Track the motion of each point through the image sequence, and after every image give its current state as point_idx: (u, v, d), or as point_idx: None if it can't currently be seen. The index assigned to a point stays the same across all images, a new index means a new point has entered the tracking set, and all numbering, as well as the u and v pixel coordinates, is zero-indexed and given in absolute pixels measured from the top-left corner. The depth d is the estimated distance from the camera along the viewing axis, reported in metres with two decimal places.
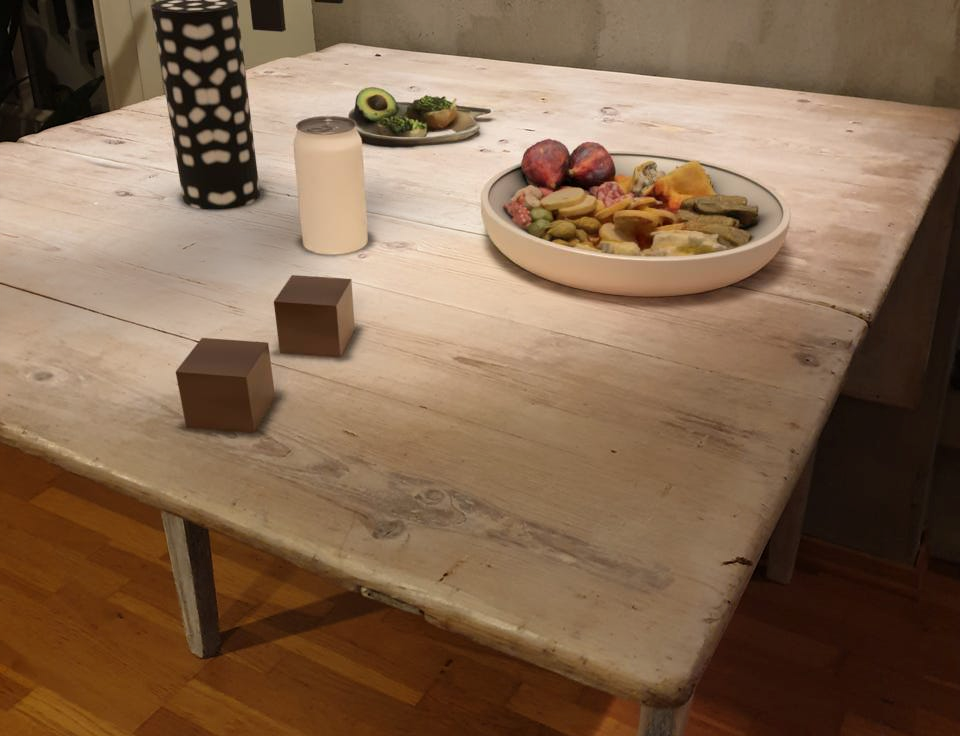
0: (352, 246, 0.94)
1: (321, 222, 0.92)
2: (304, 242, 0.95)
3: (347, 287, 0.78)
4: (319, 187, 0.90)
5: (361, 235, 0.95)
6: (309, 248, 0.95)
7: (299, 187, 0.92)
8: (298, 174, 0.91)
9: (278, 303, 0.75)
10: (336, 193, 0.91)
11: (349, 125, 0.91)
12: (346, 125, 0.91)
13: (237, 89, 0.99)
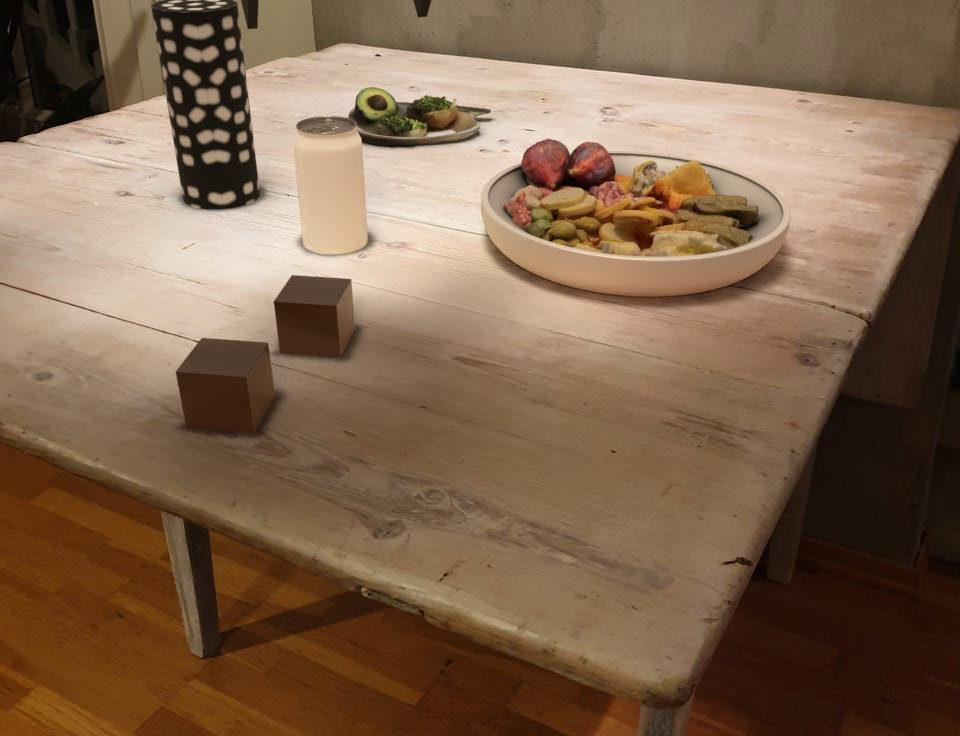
0: (352, 246, 0.94)
1: (321, 222, 0.92)
2: (304, 242, 0.95)
3: (347, 287, 0.78)
4: (319, 188, 0.90)
5: (361, 235, 0.95)
6: (309, 248, 0.95)
7: (299, 187, 0.92)
8: (298, 174, 0.91)
9: (278, 303, 0.75)
10: (336, 193, 0.91)
11: (349, 125, 0.91)
12: (346, 125, 0.91)
13: (237, 89, 0.99)
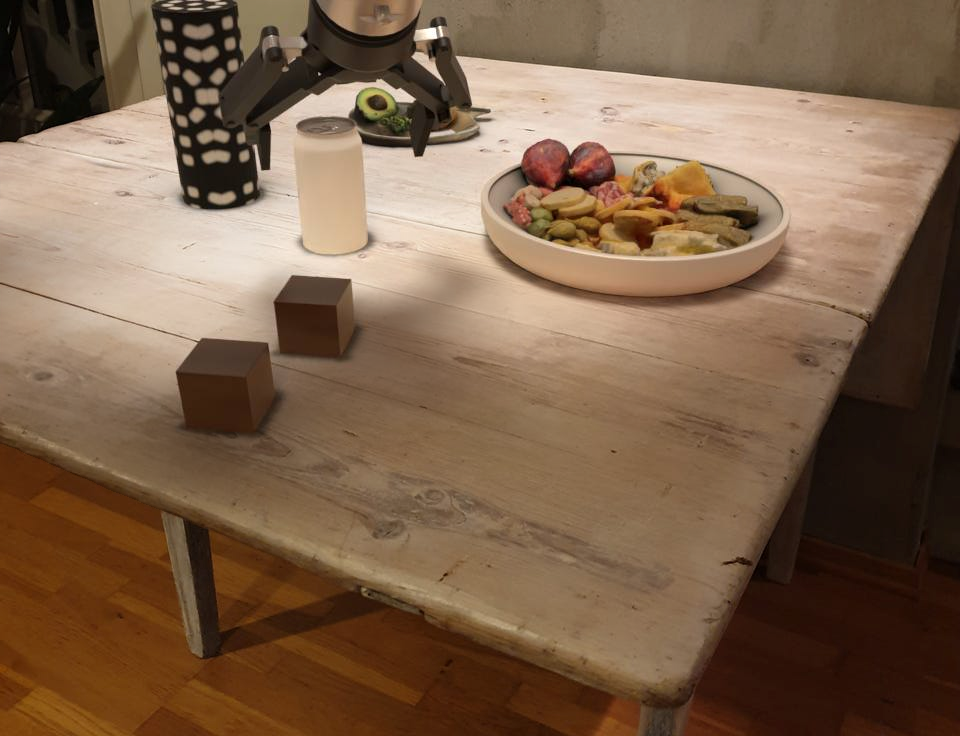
0: (352, 246, 0.94)
1: (321, 222, 0.92)
2: (304, 242, 0.95)
3: (347, 287, 0.78)
4: (319, 188, 0.90)
5: (361, 235, 0.95)
6: (309, 248, 0.95)
7: (299, 187, 0.92)
8: (298, 174, 0.91)
9: (278, 303, 0.75)
10: (336, 193, 0.91)
11: (349, 125, 0.91)
12: (346, 125, 0.91)
13: None
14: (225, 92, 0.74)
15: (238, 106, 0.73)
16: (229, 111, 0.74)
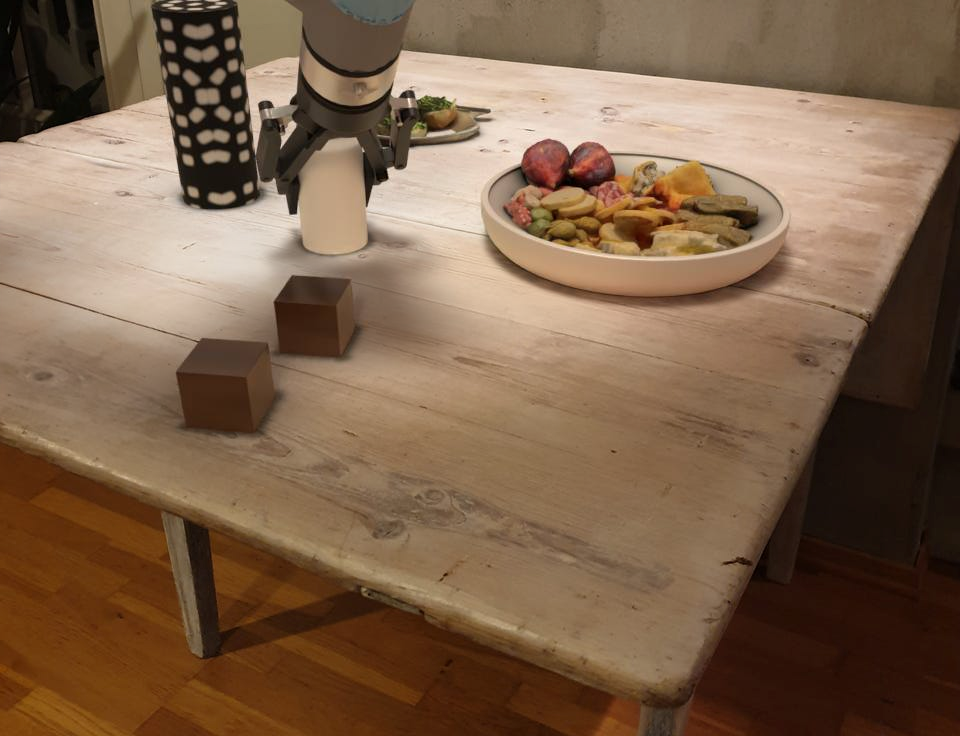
0: (352, 246, 0.94)
1: (321, 222, 0.92)
2: (304, 242, 0.95)
3: (347, 287, 0.78)
4: (319, 188, 0.90)
5: (361, 235, 0.95)
6: (309, 248, 0.95)
7: None
8: (298, 174, 0.91)
9: (278, 303, 0.75)
10: (336, 192, 0.91)
11: None
12: None
13: (237, 89, 0.99)
14: (257, 154, 0.88)
15: (263, 166, 0.86)
16: (260, 170, 0.87)
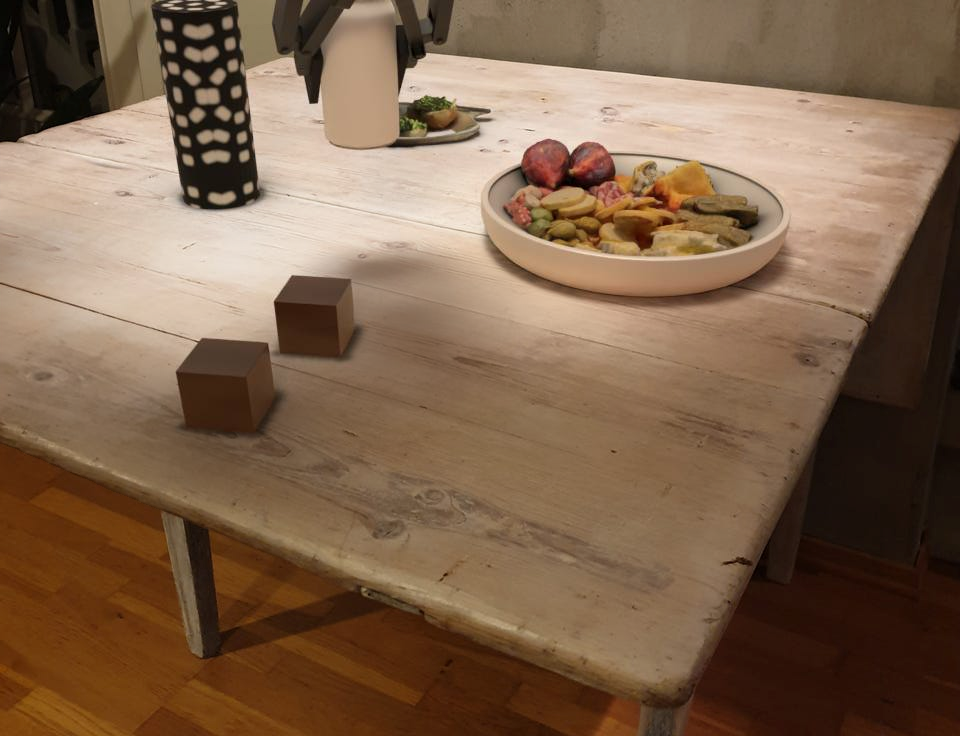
0: (383, 137, 0.82)
1: (347, 106, 0.79)
2: (327, 133, 0.82)
3: (347, 287, 0.78)
4: (346, 63, 0.78)
5: (393, 125, 0.82)
6: (333, 140, 0.82)
7: None
8: (321, 49, 0.78)
9: (278, 303, 0.75)
10: (365, 69, 0.78)
11: None
12: None
13: (237, 89, 0.99)
14: (274, 19, 0.75)
15: (282, 31, 0.73)
16: (278, 37, 0.74)
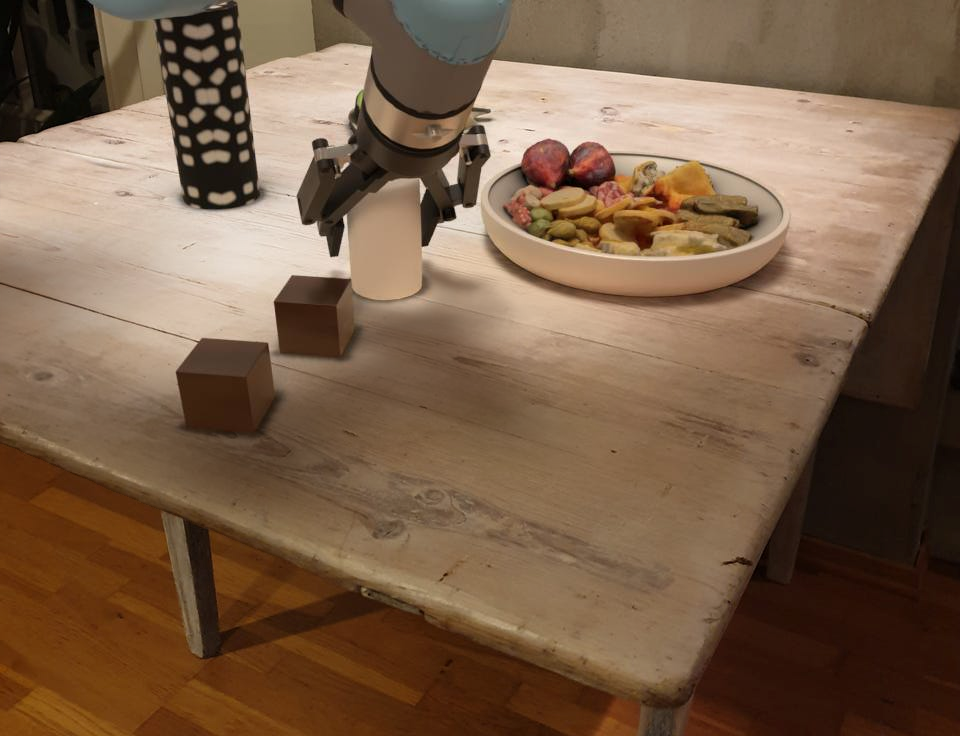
0: (407, 291, 0.86)
1: (374, 265, 0.84)
2: (354, 286, 0.87)
3: (347, 287, 0.78)
4: (373, 229, 0.82)
5: (416, 279, 0.87)
6: (359, 293, 0.87)
7: (350, 227, 0.84)
8: (349, 213, 0.83)
9: (278, 303, 0.75)
10: (392, 234, 0.83)
11: None
12: None
13: (237, 89, 0.99)
14: (300, 194, 0.79)
15: (309, 209, 0.78)
16: (303, 212, 0.79)
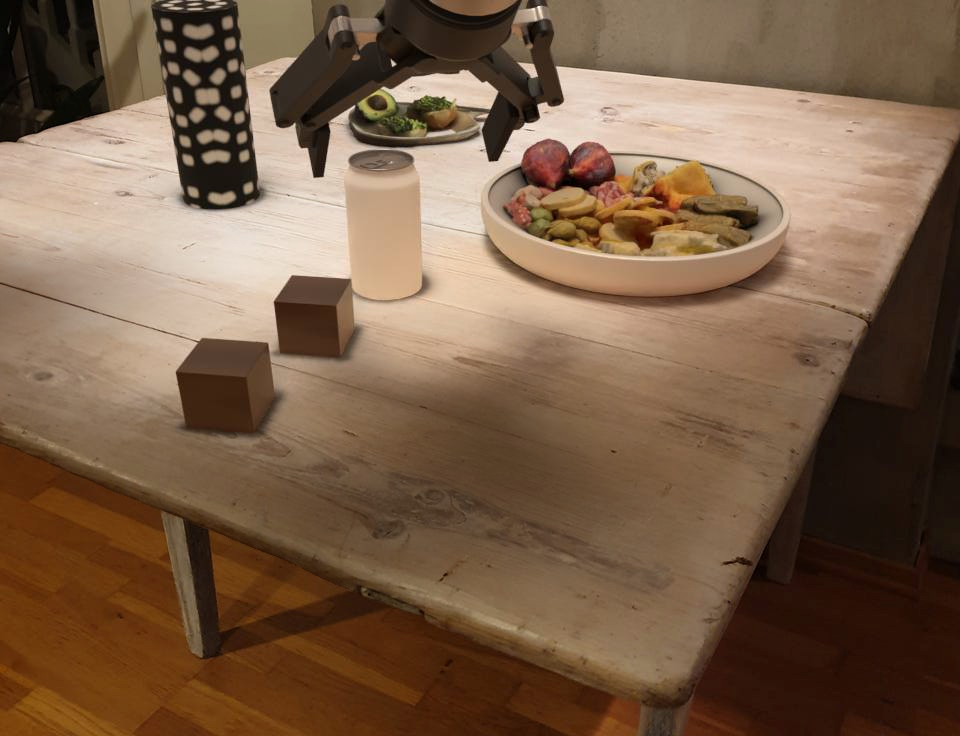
0: (407, 291, 0.86)
1: (374, 265, 0.84)
2: (354, 286, 0.87)
3: (347, 287, 0.78)
4: (373, 229, 0.82)
5: (416, 279, 0.87)
6: (359, 293, 0.87)
7: (350, 227, 0.84)
8: (349, 213, 0.83)
9: (278, 303, 0.75)
10: (392, 234, 0.83)
11: (406, 159, 0.83)
12: (402, 159, 0.83)
13: (237, 89, 0.99)
14: (279, 85, 0.62)
15: (296, 102, 0.61)
16: (283, 108, 0.62)
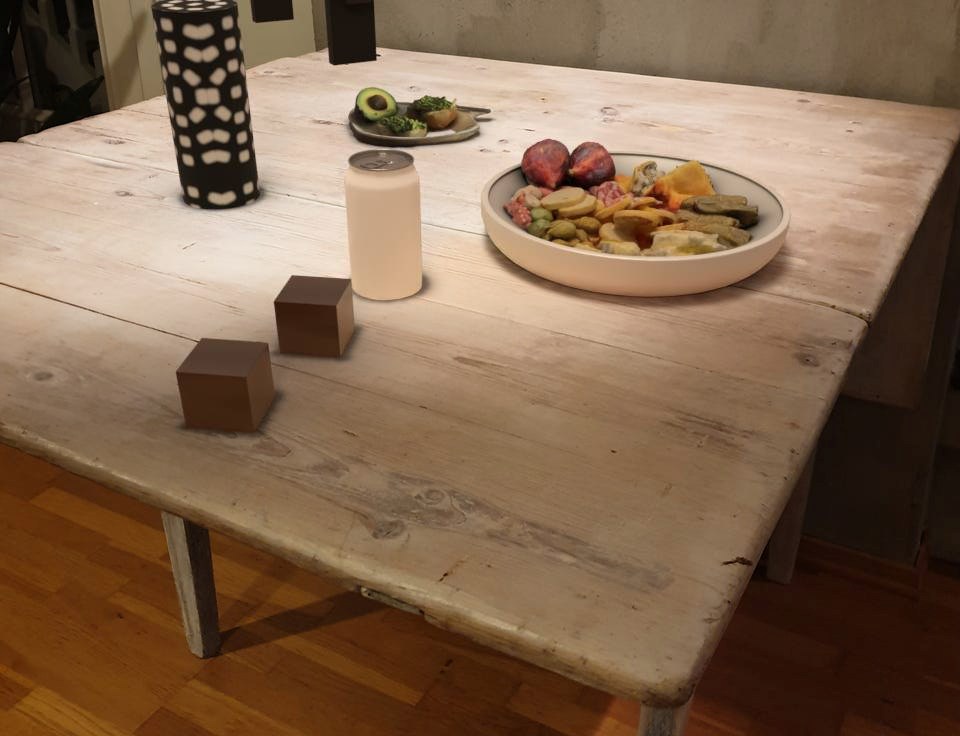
0: (407, 291, 0.86)
1: (374, 265, 0.84)
2: (354, 286, 0.87)
3: (347, 287, 0.78)
4: (373, 229, 0.82)
5: (416, 279, 0.87)
6: (359, 293, 0.87)
7: (350, 227, 0.84)
8: (350, 213, 0.83)
9: (278, 303, 0.75)
10: (392, 234, 0.83)
11: (406, 159, 0.83)
12: (402, 159, 0.83)
13: (237, 89, 0.99)
14: None
15: None
16: None
